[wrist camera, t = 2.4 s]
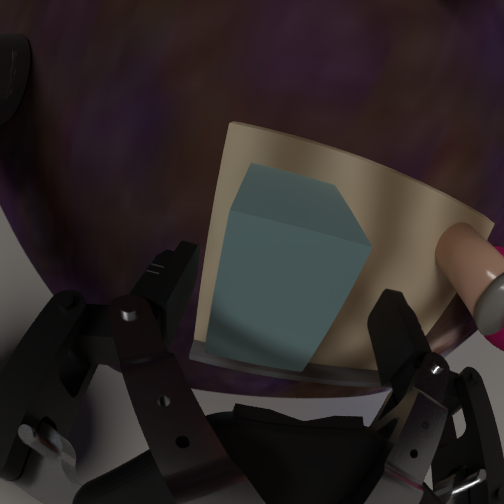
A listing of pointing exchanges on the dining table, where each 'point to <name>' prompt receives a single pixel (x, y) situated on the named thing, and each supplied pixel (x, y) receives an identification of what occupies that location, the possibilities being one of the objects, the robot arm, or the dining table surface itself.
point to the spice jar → (474, 274)
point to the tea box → (283, 269)
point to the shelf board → (376, 230)
